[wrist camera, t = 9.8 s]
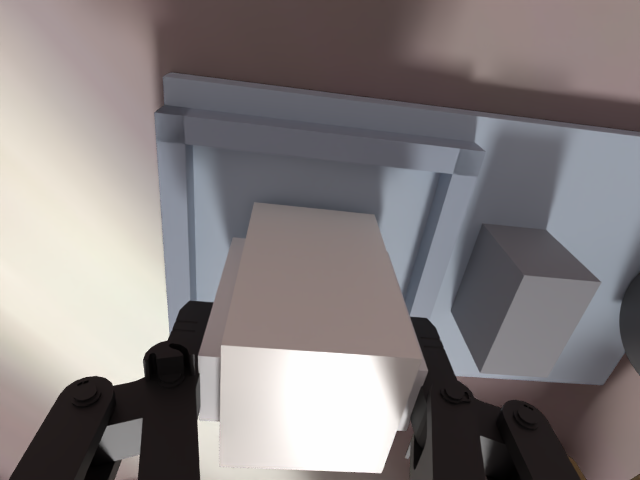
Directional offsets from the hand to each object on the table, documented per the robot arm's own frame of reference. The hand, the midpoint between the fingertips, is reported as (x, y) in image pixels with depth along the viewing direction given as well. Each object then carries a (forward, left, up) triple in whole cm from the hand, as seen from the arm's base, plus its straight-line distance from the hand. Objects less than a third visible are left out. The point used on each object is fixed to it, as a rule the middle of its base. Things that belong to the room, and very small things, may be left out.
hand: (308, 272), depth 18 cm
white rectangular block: (0, 0, -1) cm, 1 cm away
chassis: (-6, 0, -2) cm, 6 cm away
